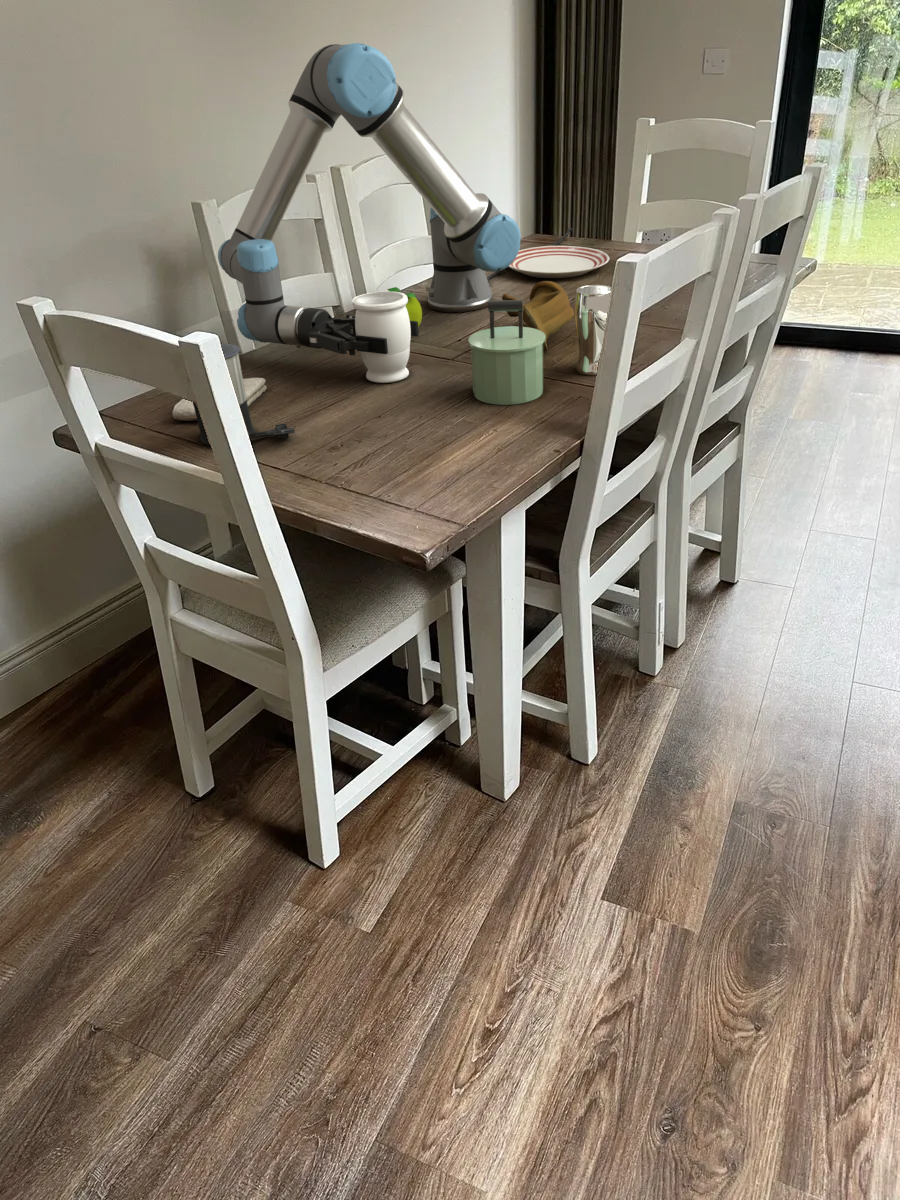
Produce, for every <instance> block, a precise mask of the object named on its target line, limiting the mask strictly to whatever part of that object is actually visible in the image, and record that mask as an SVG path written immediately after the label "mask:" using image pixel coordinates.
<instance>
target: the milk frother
mask: <svg viewBox="0 0 900 1200" xmlns="http://www.w3.org/2000/svg"><path fill="white" fill-rule="evenodd" d="M220 344H221V347H222V351H223V354H224V357H225V360H226V363H227V367H228V370H229V373H230V377H231V380H232V383H233V386H234V389H235V392H236V396H237V399H238V402H239V405H240V408H241V411H242V413H243V416H244V420H245V423H246V426H247V429H248V432H249V437H250V438H249V439H260V438H268V437H274V436H275V437H276V438H277V440H278V441H282V440H287V439H289V437H290V436H289V434H290V435H291V434H294V433H296V431H295V428H294V427H288V426H287V424H286V423H279V424H275V426H274V428H275V429H267V430H264V431H258V432H256V430H255V428H254V426H253V422H252V418H251V413H250V409H249V406H248V404H247V398H246V393H245V388H244V382H243V379H244V376H243V371H242V366H241V361H240V355H239V352H240V347H239V346H237V345H235V344H233V343H232V344H230V343H220ZM192 402H193V401H192ZM193 406H194V409H195V413H196V417H197V420H196V421H197V425H198V428H199V433H200V442H202V443H203V444H205V445H208V446H210V445H209V442H208V439H207V435H206V432H205V429H204V426H203V423H202V420H201V417H200V414H199V411H198V408H197V406H196V404H195V403H194V402H193Z"/></svg>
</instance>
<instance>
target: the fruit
mask: <svg viewBox="0 0 900 1200" xmlns="http://www.w3.org/2000/svg"><path fill="white" fill-rule="evenodd" d="M386 290H387V291H392V292H400V293H401V289H400V288H399V287H397V286H394V287H391V288H386ZM403 293H404V294H406V295H407V298H408V302H407V304H406V309H407V311H408V315H409V320H410V321H418V328H419V327H420V325H421V323H422V319H423V308H422V306H421V303H420V302H419V300H418V298H417V296H416V294H415V293H413V292H407V293H405V292H403Z"/></svg>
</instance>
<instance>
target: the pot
mask: <svg viewBox="0 0 900 1200" xmlns="http://www.w3.org/2000/svg"><path fill="white" fill-rule="evenodd" d="M470 357H471V358H470V359H471V378H472V392H473V393H472V394H473V396H474V398H475V399H476V400H478V401H480V402H482V403H485V404H491V405H497V406H498V405H501V406H502V405H503V406H506V405H518V404H525V403H528V402H532V401H535V400H536V399H539V398H540V397H541V396H542V395H543V394H544V387H545V385H544V379H545V378H544V353H543V344H541V345H539V346H537V347H535V348H532V349H528V350H524V351H518V352H505V353H497V352H486V351H481V350H477V349H475V348H473V347H471V346H470Z"/></svg>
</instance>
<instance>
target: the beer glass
mask: <svg viewBox="0 0 900 1200" xmlns="http://www.w3.org/2000/svg"><path fill="white" fill-rule="evenodd" d="M611 288H613V287H612V286H610V285H605V284H587V285H582V286H580V287H578V288H576V291H575V292H576V293H575V294H576V295H575V305H574V322H575V330H576V337H577V343H578V360H577V363H576V364H577V365H576V371H577V373H579V374H581V375H584V376H597V375H596V373H597V367H598V362H599V358H600V353H601V349H602V344H603V338H604V331H605V324H606V318H607V312H608V306H609V301H610V295H611Z"/></svg>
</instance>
